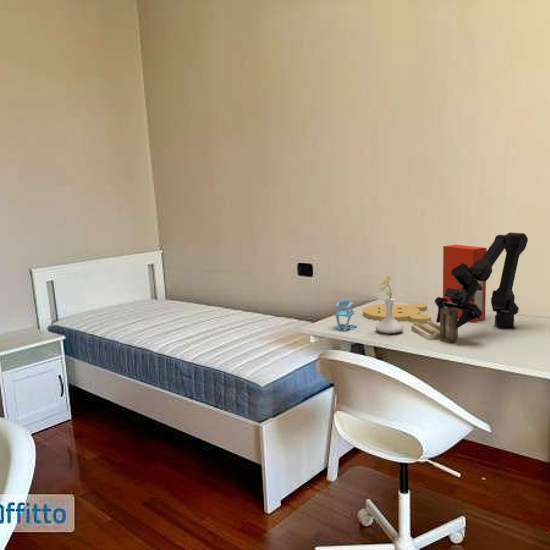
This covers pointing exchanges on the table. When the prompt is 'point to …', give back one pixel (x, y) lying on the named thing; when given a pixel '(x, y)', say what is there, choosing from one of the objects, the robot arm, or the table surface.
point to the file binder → (469, 256)
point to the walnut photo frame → (448, 325)
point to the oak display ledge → (427, 330)
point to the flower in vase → (388, 311)
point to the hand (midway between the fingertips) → (446, 324)
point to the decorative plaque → (399, 312)
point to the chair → (344, 314)
